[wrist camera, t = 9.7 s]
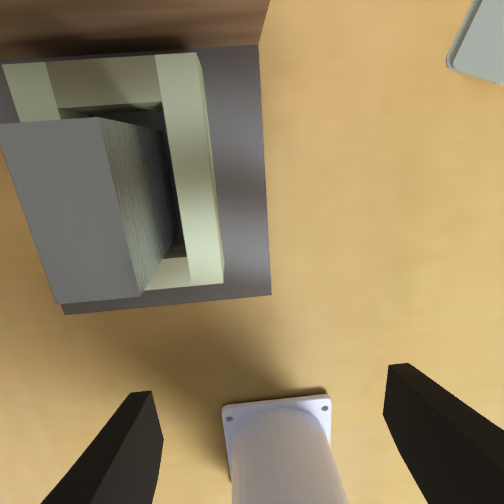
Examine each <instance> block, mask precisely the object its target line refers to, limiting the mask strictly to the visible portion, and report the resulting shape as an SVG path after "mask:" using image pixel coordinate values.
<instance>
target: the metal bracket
mask: <svg viewBox="0 0 504 504" xmlns="http://www.w3.org/2000/svg"><path fill="white" fill-rule="evenodd" d="M446 64H447V67H448V69H450V70H452V71H455V72H458V73H461V74H465V75H468V76H472V77H475V78H478V79H482V80H485V81H489V82H492V83H495V84H504V0H473V3H472V5H471V7H470V9H469V11H468V13H467V15H466V17H465V19H464V21H463V23H462V25H461V27H460V30H459V32H458V34H457V36H456V38H455V40H454V42H453V44H452V46H451V48H450V50H449V52H448V54H447V62H446Z"/></svg>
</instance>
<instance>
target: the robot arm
mask: <svg viewBox="0 0 504 504" xmlns="http://www.w3.org/2000/svg"><path fill="white" fill-rule="evenodd" d="M331 404H332V402H331V398H330V396H329V395H327V394H320V395H311V396H302V397H293V398H284V399H275V400H266V401H257V402H248V403H239V404H230V405H225V406H224V407H223V408H222V420H223V427H224V434H225V441H226V448H227V454H228V461H229V468H230V475H231V482H232V504H349V503H348V500H347V497H346V494H345V491H344V488H343V485H342V482H341V479H340V476H339V473H338V470H337V467H336V464H335V461H334V457H333V454H332V451H331V448H330V434H331ZM229 416H230V417H229ZM383 416H384V419H385V421H386V423H387V426H388V428H389V430H390V433H391V435H392V437H393V440H394V442H395V444H396V446H397V448H398V451H399V453H400V454H401V456H402V458H403V460H404V462H405V463H406V465H407V467H408V469H409V471H410V472H411V474H412V476H413V478H414V480H415V481H416V483H417V485H418V487H419V488H420V490H421V492H422V494H423V495H424V497H425V499H426V501H427V502H428V504H504V430H502V429H501V428H499V427H498V426H496V425H495V424H494V423H492V422H491V421H489V420H488V419H486V418H485V417H483V416H482V415H481V414H479V413H478V412H476V411H475V410H473V409H472V408H471V407H469V406H468V405H466V404H465V403H464V402H462V401H461V400H459V399H458V398H457V397H455V396H454V395H452V394H451V393H450V392H448V391H447V390H445V389H444V388H443V387H441V386H440V385H439V384H437V383H436V382H434V381H433V380H432V379H430V378H429V377H427V376H426V375H425V374H423V373H422V372H421V371H419V370H418V369H416V368H415V367H413V366H412V365H410V364H409V363H403V364H394V365H389V367H388V375H387V383H386V392H385V400H384V409H383ZM163 441H164V439H163V435H162V431H161V427H160V423H159V419H158V415H157V411H156V407H155V403H154V399H153V395H152V391H142V392H133V393H130V394H129V395H128V396H127V398H126V399H125V400H124V401H123V403H122V404H121V405H120V406H119V408H118V409H117V410H116V412H115V413H114V414H113V416H112V417H111V418H110V419H109V421H108V422H107V423H106V425H105V426H104V427H103V428H102V430H101V431H100V432H99V434H98V435H97V436H96V437H95V439H94V440H93V441H92V443H91V444H90V445H89V446H88V447H87V449H86V450H85V451H84V452H83V454H82V455H81V456H80V457H79V459H78V460H77V461H76V462H75V464H74V465H73V466H72V467H71V468H70V470H69V471H68V472H67V473H66V475H65V476H64V477H63V478H62V479H61V480H60V482H59V483H58V484H57V485H56V486H55V487H54V489H53V490H52V491H51V492H50V493H49V494H48V496H47V497H46V498H45V499H44V500H43V501H42V503H41V504H152V501H153V497H154V493H155V489H156V485H157V480H158V474H159V468H160V462H161V455H162V448H163Z"/></svg>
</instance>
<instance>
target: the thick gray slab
mask: <svg viewBox="0 0 504 504" xmlns="http://www.w3.org/2000/svg"><path fill="white" fill-rule="evenodd" d="M0 146H1V149H2V152H3V155H4V157H5V160H6V163H7V166H8V169H9V172H10V174H11V177H12V180H13V183H14V186H15V189H16V191H17V194H18V197H19V200H20V203H21V205H22V208H23V211H24V214H25V217H26V220H27V222H28V225H29V228H30V231H31V234H32V236H33V239H34V242H35V245H36V248H37V251H38V253H39V256H40V259H41V262H42V265H43V268H44V270H45V273H46V276H47V279H48V282H49V284H50V287H51V290H52V293H53V296H54V299H55V301H56V304H67V303H78V302H88V301H99V300H109V299H120V298H130V297H140V296H141V294H142V293H143V291H144V289H145V288H146V286H147V284H148V283H149V281H150V279H151V278H152V276H153V274H154V273H155V271H156V269H157V268H158V266H159V264H160V263H161V261H162V259H163V258H164V256H165V254H166V253H167V251H168V250H169V248H170V246H171V245H172V243H173V241H174V240H175V238H176V236H177V235H178V233H179V229H178V223H177V217H176V211H175V205H174V199H173V193H172V187H171V181H170V175H169V169H168V163H167V157H166V151H165V145H164V139H163V133H162V131H161V130H156V129H152V128H147V127H142V126H138V125H133V124H128V123H124V122H119V121H114V120H110V119H105V118H100V117H91V118H77V119H63V120H49V121H35V122H21V123H6V124H0Z"/></svg>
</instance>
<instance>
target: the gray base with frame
mask: <svg viewBox="0 0 504 504" xmlns="http://www.w3.org/2000/svg"><path fill="white" fill-rule="evenodd" d="M269 2H270V0H0V124H6V123H21V122H35V121H49V120H63V119H77V118H91V117H100V118H105V119H110V120H114V121H119V122H124V123H128V124H133V125H138V126H142V127H147V128H152V129H156V130H161V131H162V133H163V139H164V145H165V151H166V157H167V163H168V169H169V175H170V181H171V187H172V193H173V199H174V205H175V211H176V217H177V223H178V229H179V233H178V235H177V236H176V238H175V240H174V241H173V243H172V245H171V246H170V248H169V250H168V251H167V253H166V254H165V256H164V258H163V259H162V261H161V263H160V264H159V266H158V268H157V269H156V271H155V273H154V274H153V276H152V278H151V279H150V281H149V283H148V284H147V286H146V288H145V289H144V291H143V293H142V294H141V296H140V297H130V298H120V299H109V300H99V301H88V302H78V303H67V304H61V306H62V309H63V312H64V314H65V315H69V314H80V313H90V312H101V311H111V310H121V309H132V308H142V307H152V306H163V305H173V304H183V303H194V302H204V301H215V300H225V299H235V298H246V297H256V296H266V295H272V293H271V275H270V256H269V237H268V219H267V200H266V181H265V163H264V144H263V125H262V107H261V88H260V69H259V51H258V43H259V39H260V36H261V32H262V28H263V24H264V21H265V17H266V13H267V9H268V6H269Z"/></svg>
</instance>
